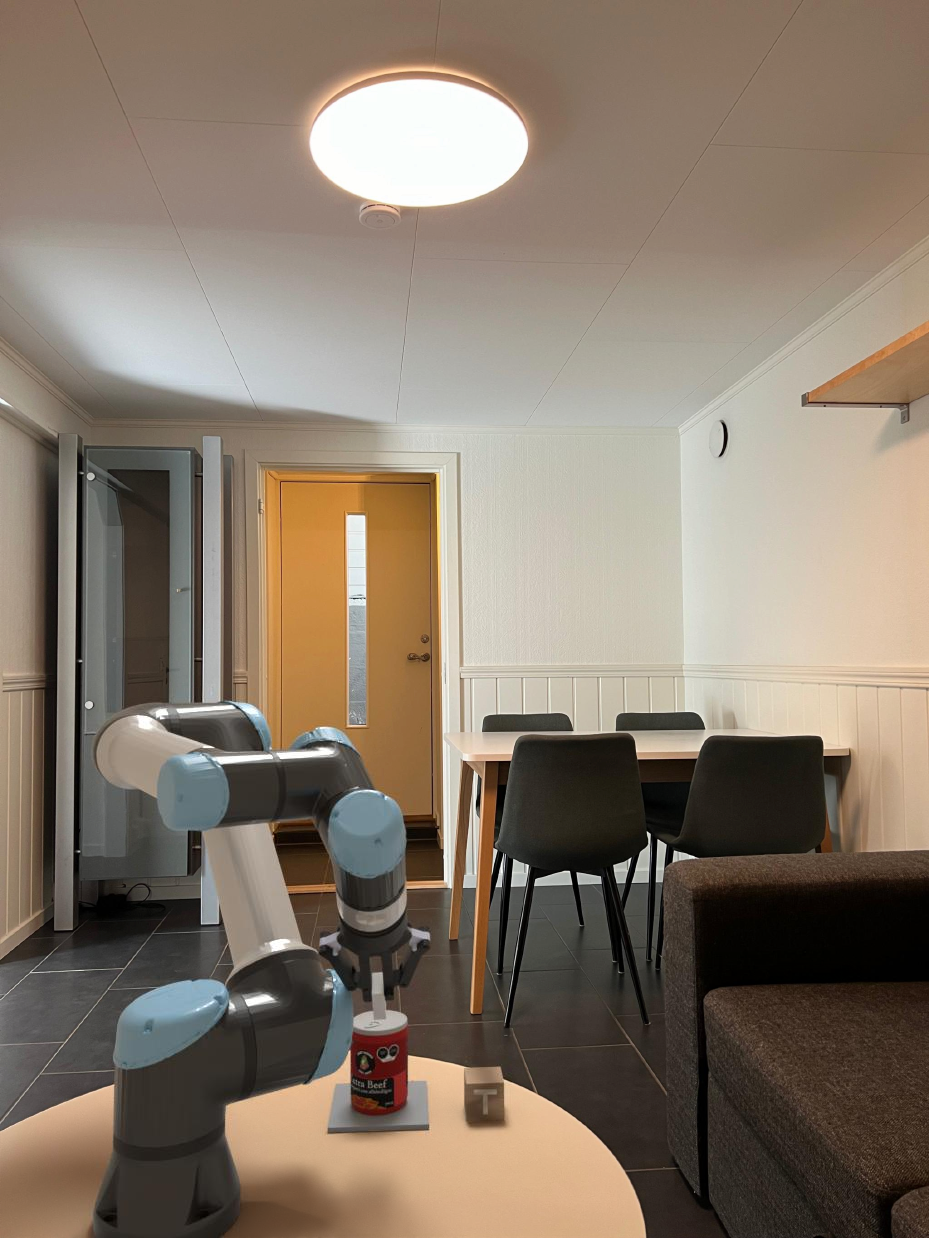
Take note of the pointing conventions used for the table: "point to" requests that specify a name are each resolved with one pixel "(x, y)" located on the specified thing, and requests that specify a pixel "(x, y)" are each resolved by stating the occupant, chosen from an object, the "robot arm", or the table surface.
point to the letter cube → (483, 1094)
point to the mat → (402, 1119)
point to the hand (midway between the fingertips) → (379, 1008)
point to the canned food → (379, 1063)
